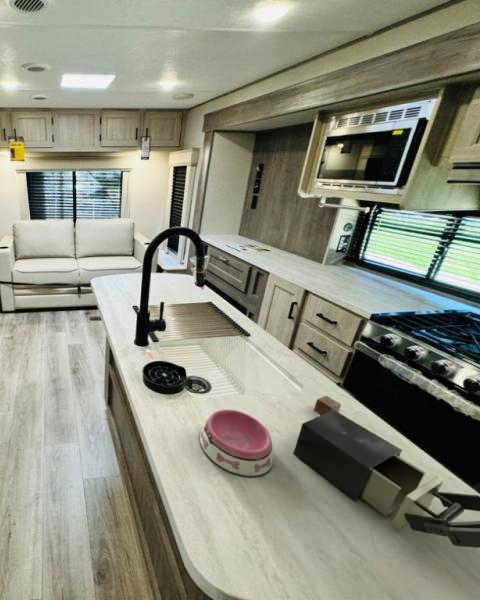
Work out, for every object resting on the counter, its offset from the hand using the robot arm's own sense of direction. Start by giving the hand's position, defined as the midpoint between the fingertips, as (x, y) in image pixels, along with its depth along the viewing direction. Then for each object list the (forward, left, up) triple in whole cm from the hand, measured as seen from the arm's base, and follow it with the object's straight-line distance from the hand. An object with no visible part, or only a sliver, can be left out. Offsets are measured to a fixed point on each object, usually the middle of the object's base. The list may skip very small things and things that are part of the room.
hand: (425, 509), depth 65 cm
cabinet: (+15, 0, -5) cm, 16 cm away
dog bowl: (+30, +19, -5) cm, 36 cm away
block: (+29, -18, -5) cm, 35 cm away
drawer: (+5, 0, -4) cm, 7 cm away
